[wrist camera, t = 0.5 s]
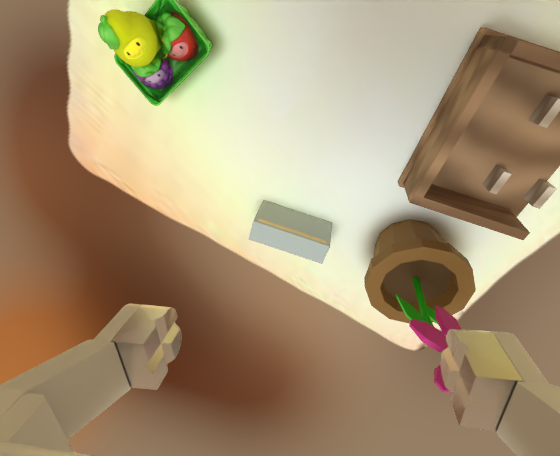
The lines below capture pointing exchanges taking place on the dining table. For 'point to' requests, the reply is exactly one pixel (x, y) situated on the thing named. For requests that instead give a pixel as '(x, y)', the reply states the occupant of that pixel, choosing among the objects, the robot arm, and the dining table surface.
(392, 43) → the dining table surface
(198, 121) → the dining table surface
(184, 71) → the fruit basket
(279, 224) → the grey box with stripe
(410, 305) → the flowerpot
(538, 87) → the wooden box
